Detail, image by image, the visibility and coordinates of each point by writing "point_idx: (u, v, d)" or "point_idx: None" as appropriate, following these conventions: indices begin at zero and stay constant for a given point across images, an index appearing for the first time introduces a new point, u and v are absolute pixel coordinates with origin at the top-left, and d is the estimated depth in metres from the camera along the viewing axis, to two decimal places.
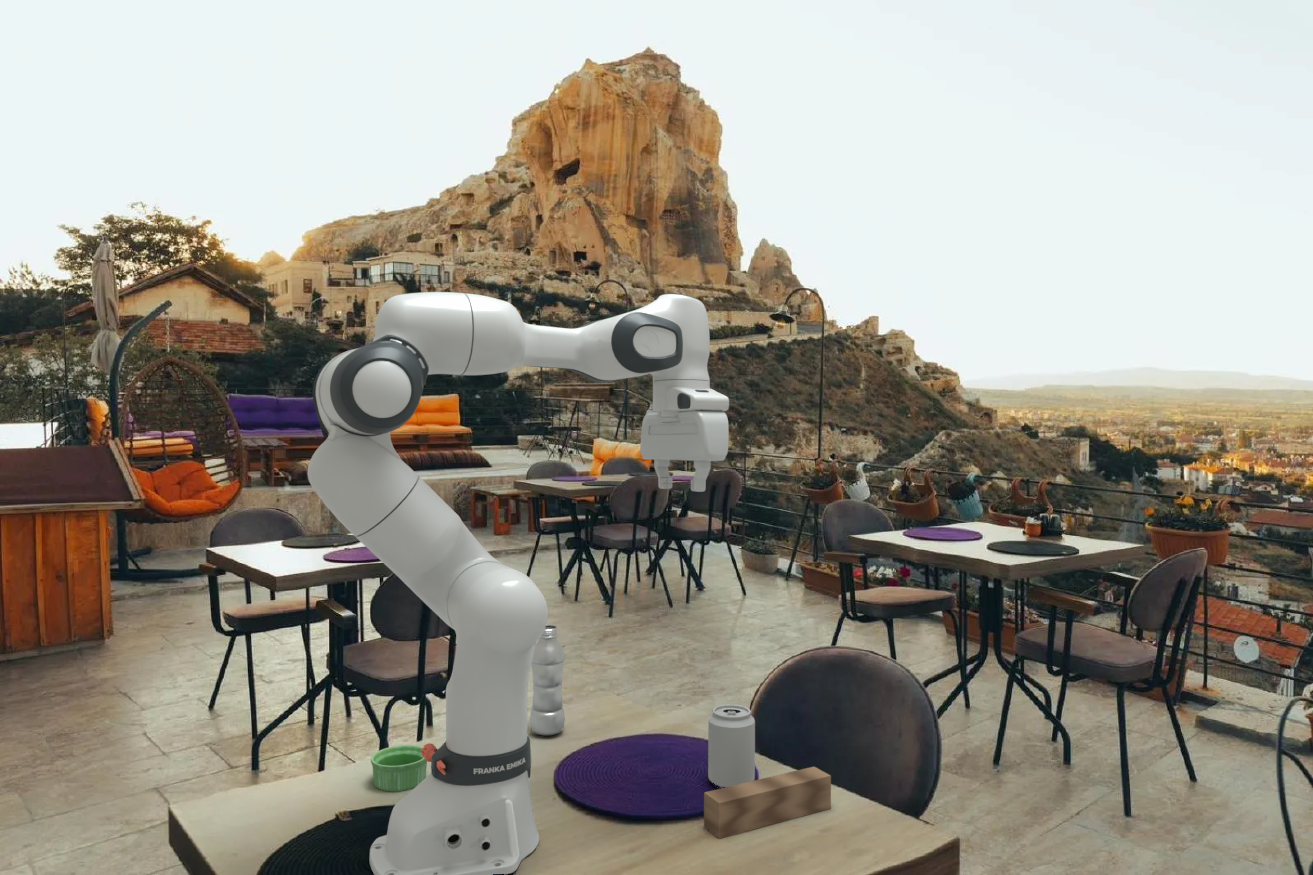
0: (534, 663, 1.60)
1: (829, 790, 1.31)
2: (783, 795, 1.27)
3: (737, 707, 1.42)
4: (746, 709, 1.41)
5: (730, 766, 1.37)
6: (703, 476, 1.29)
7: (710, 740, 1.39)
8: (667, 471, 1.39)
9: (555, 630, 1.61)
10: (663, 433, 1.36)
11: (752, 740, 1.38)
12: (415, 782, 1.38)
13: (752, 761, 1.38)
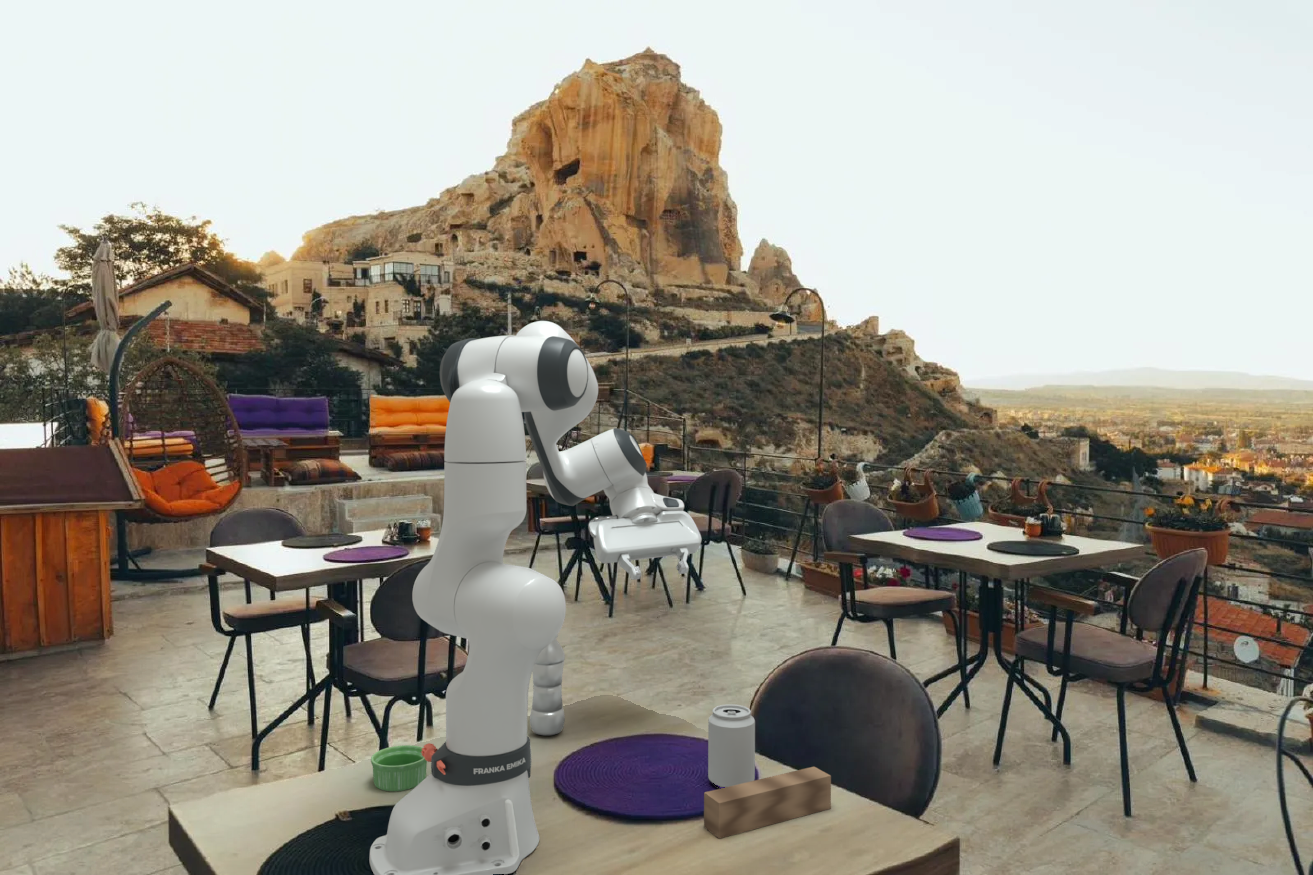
0: None
1: (829, 790, 1.31)
2: (783, 795, 1.27)
3: (737, 707, 1.42)
4: (746, 709, 1.41)
5: (730, 766, 1.37)
6: None
7: (710, 740, 1.39)
8: None
9: None
10: (633, 531, 1.58)
11: (752, 740, 1.38)
12: (415, 782, 1.38)
13: (752, 761, 1.38)
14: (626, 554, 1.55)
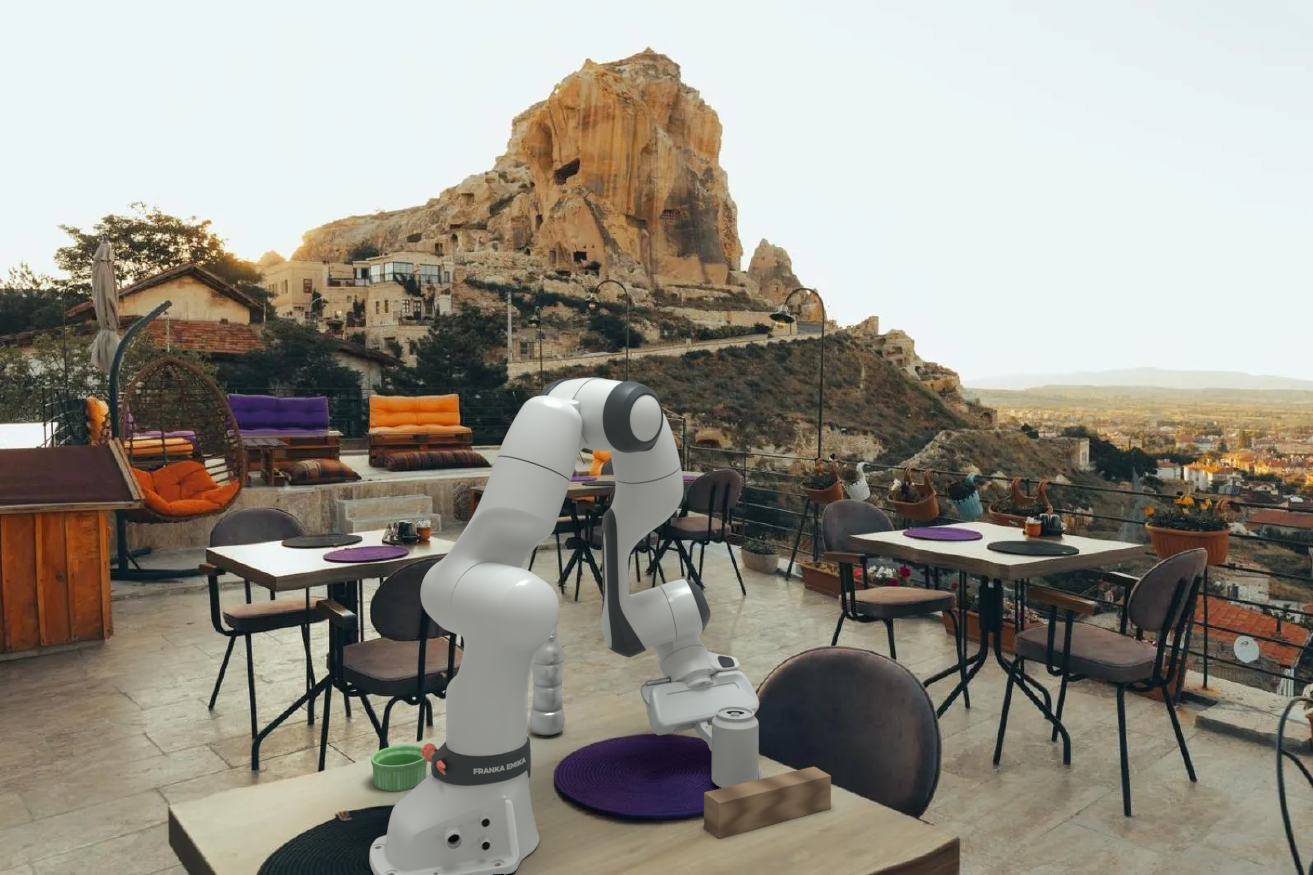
0: (534, 663, 1.60)
1: (829, 790, 1.31)
2: (783, 795, 1.27)
3: (741, 708, 1.42)
4: (750, 711, 1.40)
5: (733, 768, 1.36)
6: None
7: (713, 742, 1.38)
8: None
9: (555, 630, 1.61)
10: (689, 698, 1.46)
11: (756, 742, 1.37)
12: (415, 782, 1.38)
13: (756, 763, 1.37)
14: (704, 722, 1.44)
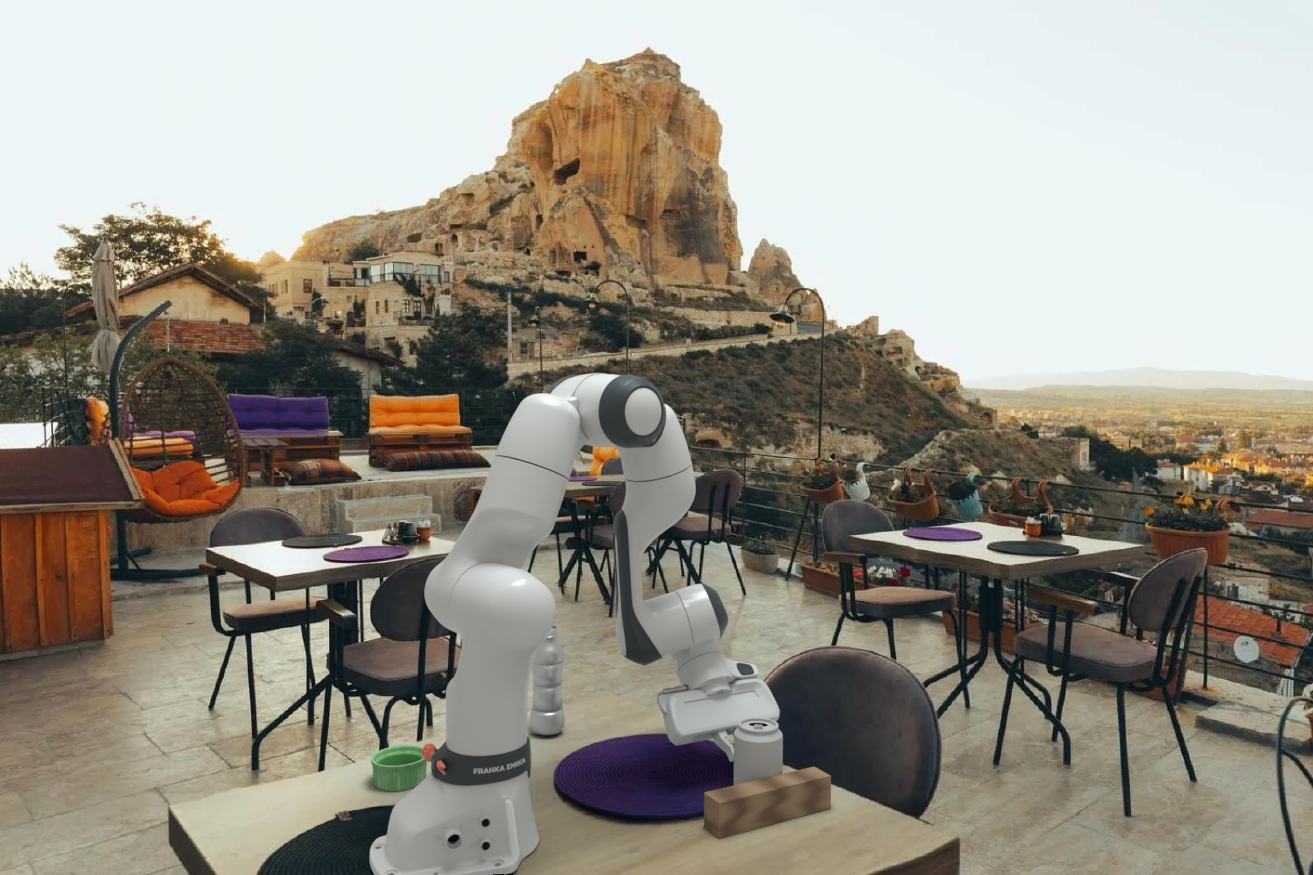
0: (534, 663, 1.60)
1: (829, 790, 1.31)
2: (783, 795, 1.27)
3: (764, 720, 1.36)
4: (773, 722, 1.35)
5: None
6: None
7: (736, 755, 1.33)
8: None
9: (555, 630, 1.61)
10: (708, 706, 1.41)
11: (780, 755, 1.32)
12: (415, 782, 1.38)
13: None
14: (723, 731, 1.39)
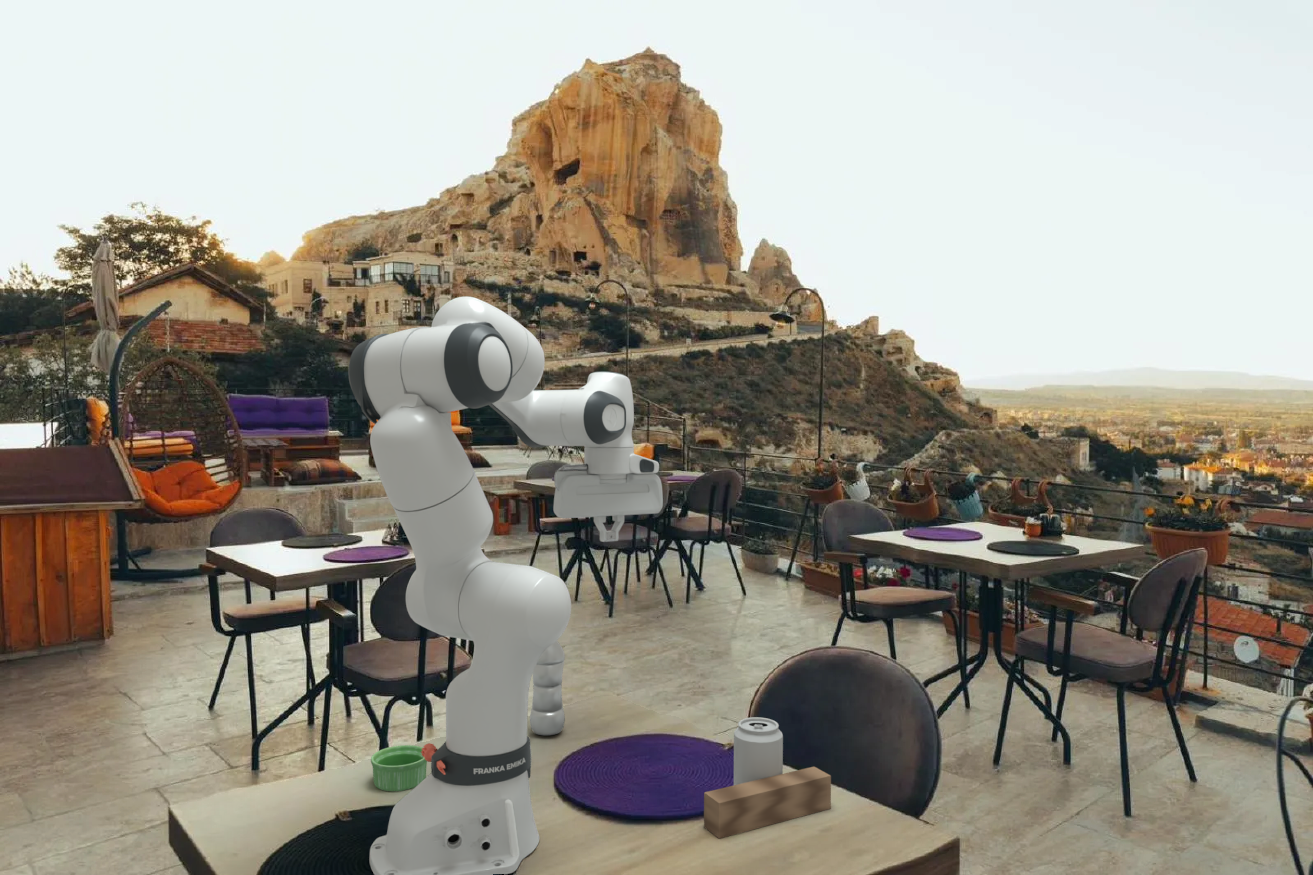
0: None
1: (829, 790, 1.31)
2: (783, 795, 1.27)
3: (764, 720, 1.36)
4: (773, 722, 1.35)
5: None
6: None
7: (736, 755, 1.33)
8: None
9: None
10: (598, 493, 1.52)
11: (780, 755, 1.32)
12: (415, 782, 1.38)
13: None
14: (603, 517, 1.53)
